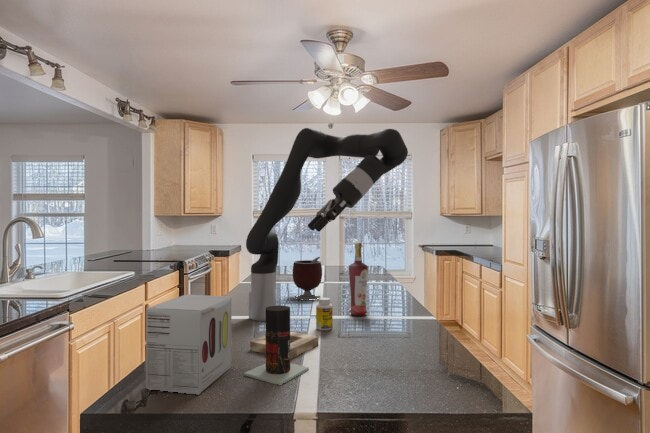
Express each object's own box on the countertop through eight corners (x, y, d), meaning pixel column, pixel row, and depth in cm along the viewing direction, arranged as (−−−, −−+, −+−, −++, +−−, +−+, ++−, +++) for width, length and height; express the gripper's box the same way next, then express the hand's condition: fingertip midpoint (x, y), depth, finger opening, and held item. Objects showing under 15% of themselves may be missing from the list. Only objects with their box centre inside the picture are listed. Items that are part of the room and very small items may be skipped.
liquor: (358, 318, 150) (358, 243, 151) (344, 315, 156) (344, 242, 156) (371, 315, 155) (371, 242, 155) (358, 312, 161) (357, 241, 161)
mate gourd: (286, 297, 190) (286, 255, 190) (309, 294, 199) (308, 253, 199) (307, 303, 178) (307, 257, 178) (330, 298, 188) (330, 255, 188)
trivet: (244, 375, 96) (244, 372, 96) (273, 361, 105) (273, 359, 105) (280, 385, 90) (280, 382, 90) (308, 369, 100) (308, 367, 100)
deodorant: (266, 365, 101) (266, 305, 101) (290, 364, 101) (289, 305, 101) (265, 374, 95) (265, 311, 95) (290, 373, 95) (290, 310, 95)
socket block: (250, 350, 114) (250, 341, 114) (281, 337, 126) (281, 329, 126) (289, 359, 107) (289, 349, 107) (318, 345, 119) (318, 336, 119)
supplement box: (200, 396, 85) (200, 310, 85) (143, 391, 87) (144, 308, 87) (233, 366, 102) (233, 295, 102) (185, 363, 104) (185, 293, 104)
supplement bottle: (321, 331, 133) (321, 300, 133) (313, 328, 137) (313, 298, 137) (335, 329, 136) (335, 299, 136) (326, 325, 141) (326, 296, 141)
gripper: (337, 180, 118) (298, 219, 116) (351, 174, 104) (307, 219, 102) (354, 198, 119) (316, 237, 117) (370, 195, 105) (328, 239, 103)
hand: (312, 228), depth 109 cm, fingers open, 8 cm apart
